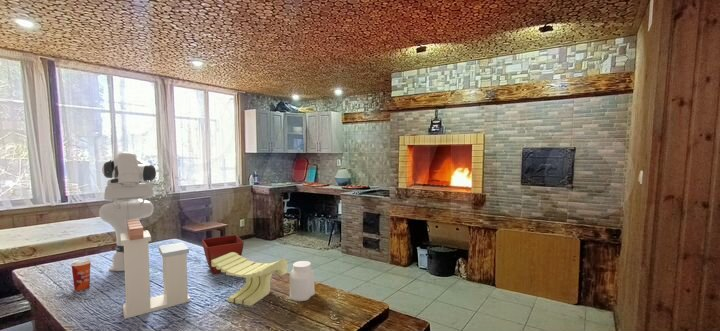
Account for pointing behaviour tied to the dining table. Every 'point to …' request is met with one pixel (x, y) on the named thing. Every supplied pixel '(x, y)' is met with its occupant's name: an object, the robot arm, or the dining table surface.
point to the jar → (301, 281)
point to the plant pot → (221, 248)
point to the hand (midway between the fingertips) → (130, 207)
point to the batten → (135, 229)
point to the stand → (140, 278)
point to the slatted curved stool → (249, 276)
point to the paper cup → (81, 274)
